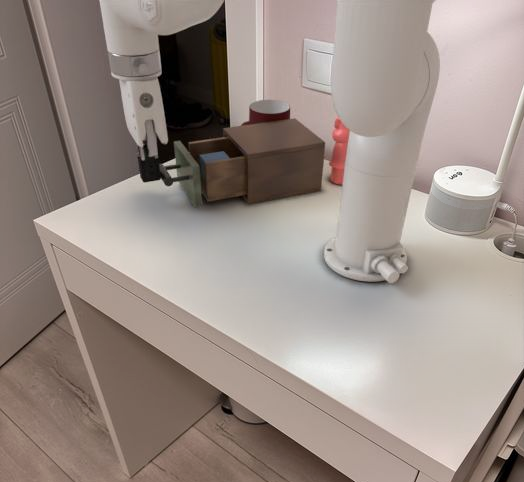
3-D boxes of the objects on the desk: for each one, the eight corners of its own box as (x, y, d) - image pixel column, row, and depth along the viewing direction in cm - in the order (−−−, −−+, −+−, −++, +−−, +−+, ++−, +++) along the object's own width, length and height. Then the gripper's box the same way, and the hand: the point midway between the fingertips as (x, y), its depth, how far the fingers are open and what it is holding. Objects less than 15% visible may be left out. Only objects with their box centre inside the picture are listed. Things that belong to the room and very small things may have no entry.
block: (233, 185, 97) (232, 161, 94) (208, 190, 95) (207, 165, 92) (224, 175, 100) (223, 151, 97) (201, 179, 98) (199, 154, 95)
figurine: (344, 172, 106) (354, 91, 96) (359, 182, 103) (370, 100, 92) (322, 176, 104) (329, 95, 94) (336, 187, 101) (345, 104, 91)
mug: (247, 169, 106) (247, 118, 100) (232, 154, 112) (231, 104, 105) (295, 160, 110) (297, 110, 103) (277, 146, 115) (279, 97, 108)
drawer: (170, 212, 91) (166, 171, 87) (154, 184, 99) (149, 145, 94) (267, 194, 97) (267, 154, 92) (244, 169, 104) (244, 131, 99)
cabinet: (248, 204, 96) (248, 154, 90) (224, 175, 104) (223, 128, 98) (321, 190, 100) (325, 142, 94) (292, 164, 108) (295, 118, 102)
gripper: (173, 74, 76) (184, 194, 89) (147, 48, 86) (160, 159, 99) (120, 80, 74) (139, 202, 86) (100, 52, 84) (120, 165, 96)
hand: (150, 179), depth 92 cm, fingers closed
